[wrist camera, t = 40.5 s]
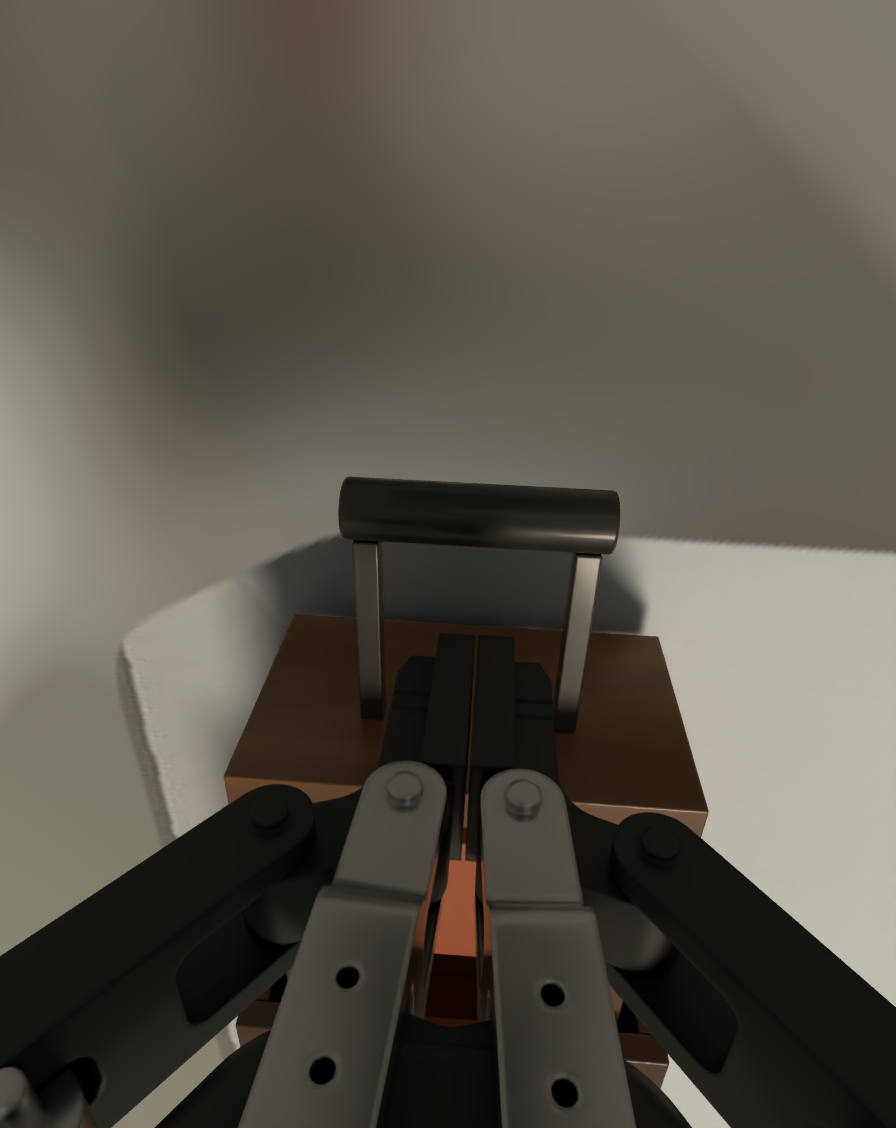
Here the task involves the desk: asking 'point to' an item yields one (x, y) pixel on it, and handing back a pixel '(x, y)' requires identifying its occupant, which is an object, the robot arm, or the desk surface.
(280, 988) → the cabinet
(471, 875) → the block
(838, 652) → the desk surface
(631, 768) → the drawer
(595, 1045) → the robot arm
